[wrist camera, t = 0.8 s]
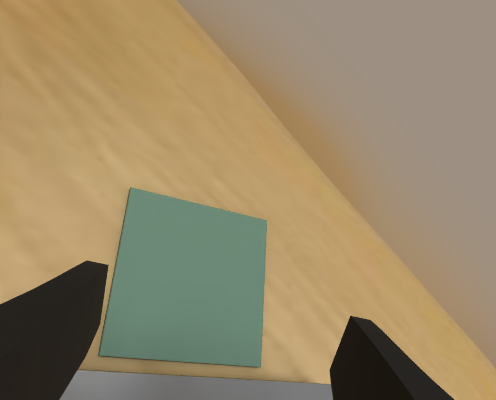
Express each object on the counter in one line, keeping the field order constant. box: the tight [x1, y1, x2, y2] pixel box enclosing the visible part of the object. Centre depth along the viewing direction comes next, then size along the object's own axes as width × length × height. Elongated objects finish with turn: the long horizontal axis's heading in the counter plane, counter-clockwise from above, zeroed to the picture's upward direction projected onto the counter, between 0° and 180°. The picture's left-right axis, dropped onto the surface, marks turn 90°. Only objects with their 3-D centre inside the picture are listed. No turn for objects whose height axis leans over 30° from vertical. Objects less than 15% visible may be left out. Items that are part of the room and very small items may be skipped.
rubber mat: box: [98, 188, 267, 367], centre depth 26 cm, size 10×10×1 cm
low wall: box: [60, 370, 333, 400], centre depth 22 cm, size 2×18×3 cm, turn 86°
